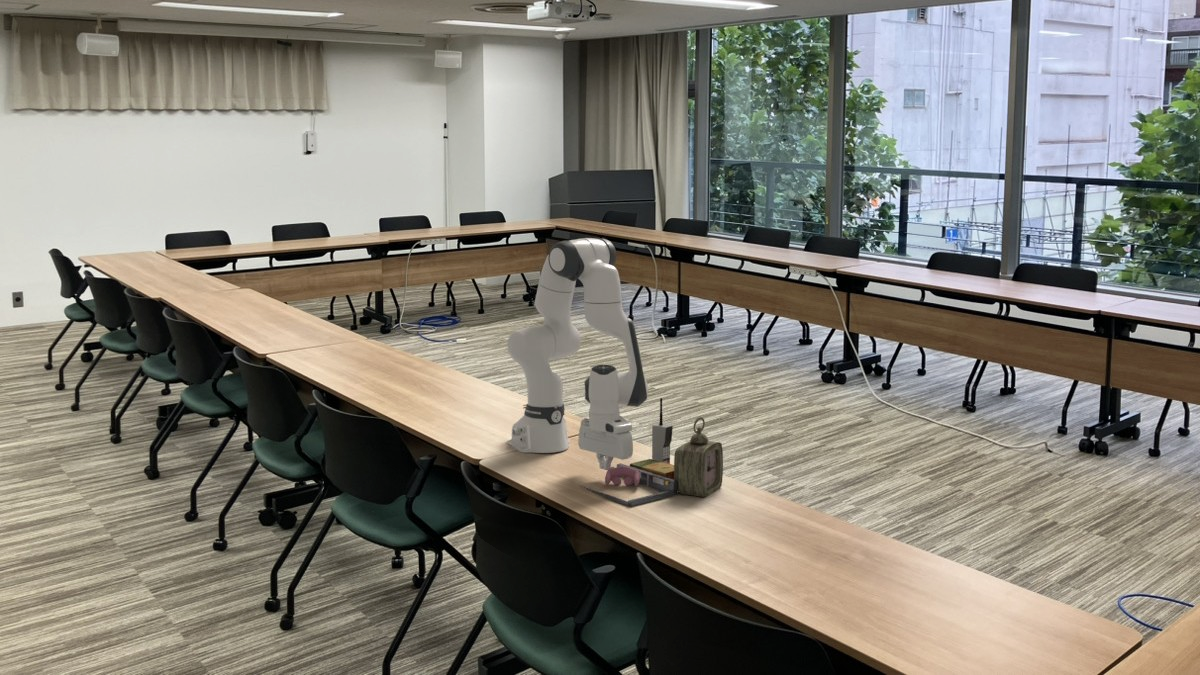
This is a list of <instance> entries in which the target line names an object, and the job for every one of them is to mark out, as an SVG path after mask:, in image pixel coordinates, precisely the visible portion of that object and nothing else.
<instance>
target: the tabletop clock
mask: <svg viewBox="0 0 1200 675" xmlns="http://www.w3.org/2000/svg"><path fill="white" fill-rule="evenodd" d="M699 421H702V427H697V426H696V425H697V423H698V422H699ZM705 422H706V421H705V419H704V418H703V417H702V416H700V417H697V418H696V419H695V421H694V423H693V431H694V434H692V435H691V438H690V440H689V441H688V442H685V443H684V444H682V445H680V446H678V447H677V448H676V449H675V451H674V457H673V458H674V459H673V461H674V462H673V465H674V480H676V481H678V493H679V494H680V495H687V496H693V497H700V498H701V497H702V498H707V497H708V496H710V495H712V494H713V493H715V492H717V491H718V490H720V489H721V488H722V484H723V475H724V474H723V473H724V454H723V453H724V452H723V451H724V450H723V446H722V445H723V444H722V442H719V441H718V442H717V441H712V440H711V441H709V438H708V437H707V435H706V434H704V433H702V432H703V430H704V428H705V425H706V423H705ZM696 427H697V430H696Z"/></svg>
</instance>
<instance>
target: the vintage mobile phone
mask: <svg viewBox="0 0 1200 675" xmlns="http://www.w3.org/2000/svg"><path fill="white" fill-rule="evenodd" d="M659 405H660V406H659V407H660V408H659V423H657V424H654V425H652V428H651V429H652V430H651V432H652V433H651V434H652V435H651V437H652V438H651V442H652V443H651V446H652V448H651V449H652V450H651V459H652V460H656V461H660V462H664V463H668V464H671V443H672V441H673V440H672V439H673V430H674V429H673V428H674V426H673V425H671V424H666V423H665V424H664V423H663V417H664V416H663V398H662V397H661V398H660V400H659Z"/></svg>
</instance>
